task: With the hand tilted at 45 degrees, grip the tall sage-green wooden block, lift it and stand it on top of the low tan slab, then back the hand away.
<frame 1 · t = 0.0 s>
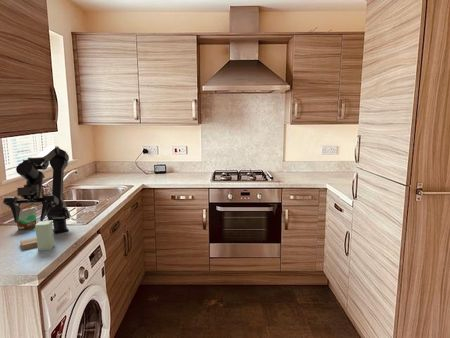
hand: (28, 221, 126), 15 cm above the counter, tool tilted 35°, fingers open, 9 cm apart
tan slab: (30, 246, 141), on the counter
food container: (30, 227, 165), on the counter
sage block: (46, 247, 139), on the counter
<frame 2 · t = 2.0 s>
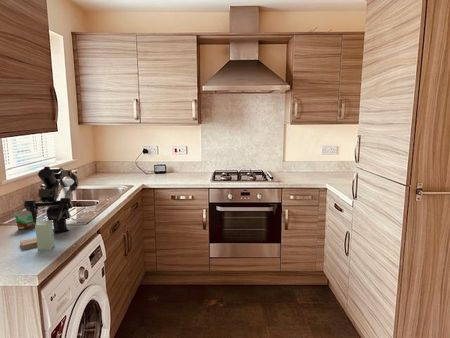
hand: (45, 221, 140), 11 cm above the counter, tool tilted 45°, fingers open, 9 cm apart
nothing on the counter moved.
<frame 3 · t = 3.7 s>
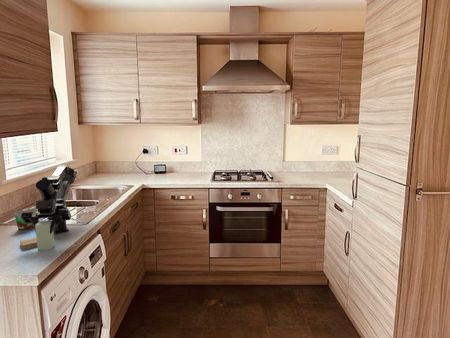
hand: (43, 233, 136), 7 cm above the counter, tool tilted 45°, fingers closed on sage block, 5 cm apart
sage block: (46, 247, 139), on the counter, touching gripper
everything else where it was.
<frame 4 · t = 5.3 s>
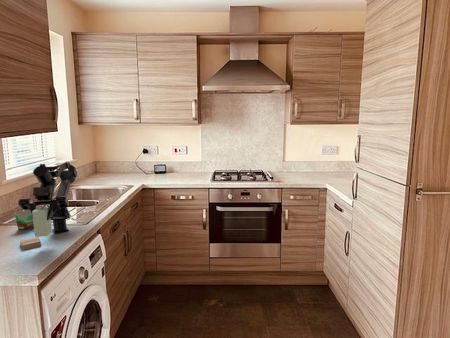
hand: (40, 220, 136), 12 cm above the counter, tool tilted 45°, fingers closed on sage block, 5 cm apart
sage block: (43, 234, 138), point 6 cm above the counter, touching gripper
everything else where it was.
when the fingers open (10 cm above the counter, at t = 7.0 s): sage block drops 2 cm, point 2 cm above the counter.
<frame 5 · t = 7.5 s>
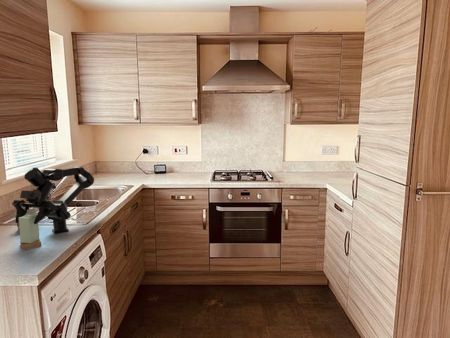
hand: (25, 223, 138), 11 cm above the counter, tool tilted 45°, fingers open, 9 cm apart
sage block: (30, 240, 141), point 2 cm above the counter
everything else where it was.
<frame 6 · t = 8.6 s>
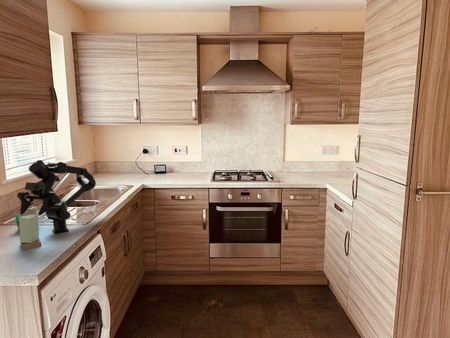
hand: (30, 214, 141), 14 cm above the counter, tool tilted 45°, fingers open, 9 cm apart
nothing on the counter moved.
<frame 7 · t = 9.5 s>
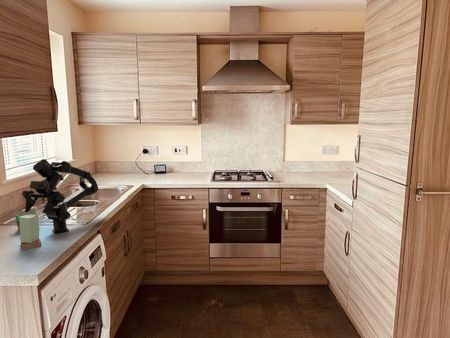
hand: (34, 212, 143), 14 cm above the counter, tool tilted 45°, fingers open, 9 cm apart
nothing on the counter moved.
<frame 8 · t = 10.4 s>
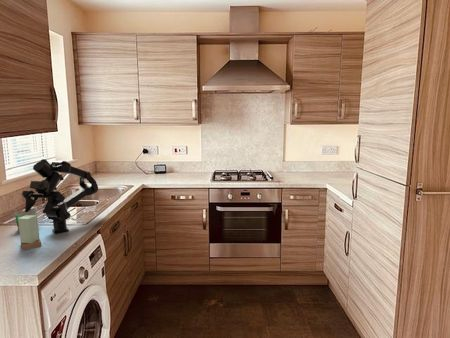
hand: (34, 212, 143), 14 cm above the counter, tool tilted 45°, fingers open, 9 cm apart
nothing on the counter moved.
at the end: sage block 0.3 cm off-centre on the tan slab, point 2.5 cm above the tan slab's base; sage block tilted 1°; the gripper is holding nothing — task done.
